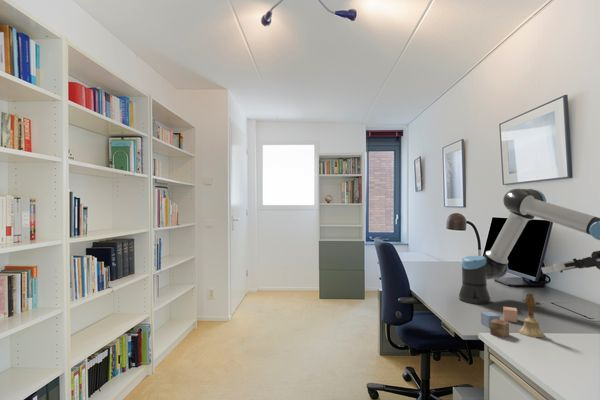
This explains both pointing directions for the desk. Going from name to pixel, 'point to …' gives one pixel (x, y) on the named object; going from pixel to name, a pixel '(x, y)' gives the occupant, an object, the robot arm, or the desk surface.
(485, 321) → the slate-blue block
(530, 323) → the hand bell
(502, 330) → the walnut block
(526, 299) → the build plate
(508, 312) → the terracotta block
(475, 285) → the robot arm
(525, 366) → the desk surface
